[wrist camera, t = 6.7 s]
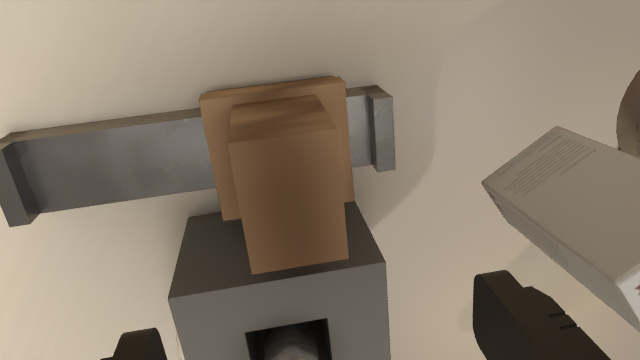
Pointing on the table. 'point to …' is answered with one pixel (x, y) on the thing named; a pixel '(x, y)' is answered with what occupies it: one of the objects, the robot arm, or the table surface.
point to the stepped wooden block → (283, 168)
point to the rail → (148, 157)
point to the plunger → (290, 342)
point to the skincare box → (578, 212)
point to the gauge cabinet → (277, 296)
